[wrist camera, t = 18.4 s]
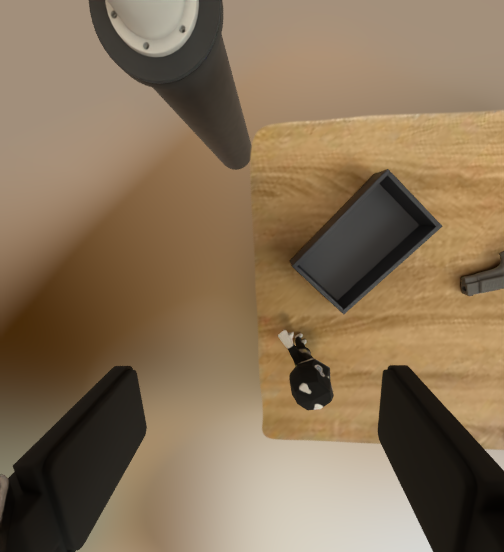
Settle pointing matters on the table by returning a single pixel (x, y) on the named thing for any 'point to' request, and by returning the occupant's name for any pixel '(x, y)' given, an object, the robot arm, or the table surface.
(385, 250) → the dark grey open box
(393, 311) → the table surface
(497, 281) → the handgun
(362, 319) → the table surface
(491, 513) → the robot arm
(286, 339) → the toy
